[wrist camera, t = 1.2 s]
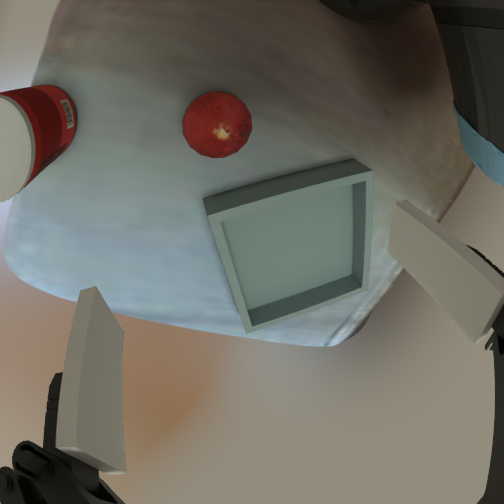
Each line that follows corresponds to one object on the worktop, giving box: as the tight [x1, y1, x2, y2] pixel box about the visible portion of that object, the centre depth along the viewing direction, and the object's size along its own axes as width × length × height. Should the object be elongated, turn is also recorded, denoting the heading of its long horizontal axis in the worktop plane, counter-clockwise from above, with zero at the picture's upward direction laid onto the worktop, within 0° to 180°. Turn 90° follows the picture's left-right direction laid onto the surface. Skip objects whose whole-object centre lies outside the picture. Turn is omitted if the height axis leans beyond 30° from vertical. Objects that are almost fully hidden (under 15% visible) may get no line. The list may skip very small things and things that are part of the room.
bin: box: [203, 159, 373, 333], centre depth 35 cm, size 18×18×4 cm
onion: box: [182, 92, 252, 158], centre depth 23 cm, size 6×6×8 cm
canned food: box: [0, 85, 76, 202], centre depth 17 cm, size 8×8×11 cm
